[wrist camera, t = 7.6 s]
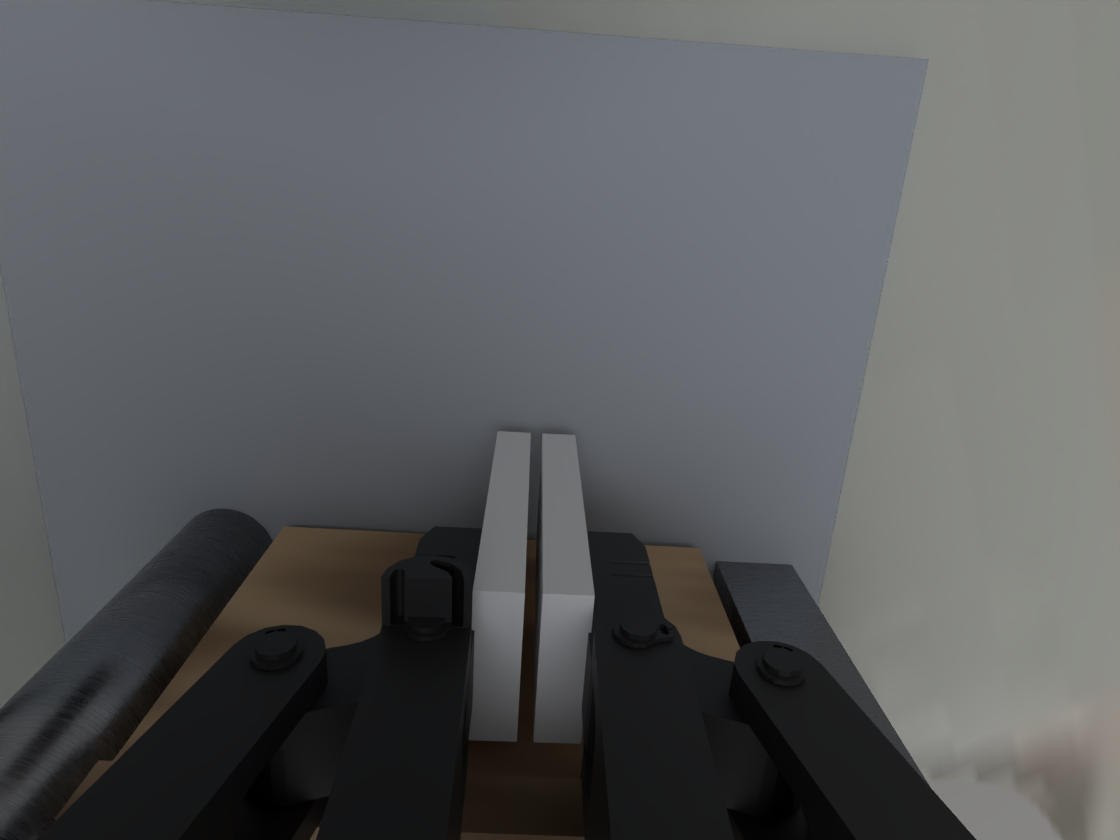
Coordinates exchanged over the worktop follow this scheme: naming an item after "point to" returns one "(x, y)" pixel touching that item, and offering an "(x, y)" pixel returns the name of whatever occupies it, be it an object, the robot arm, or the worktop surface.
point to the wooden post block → (356, 615)
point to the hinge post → (118, 668)
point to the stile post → (793, 628)
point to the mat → (435, 274)
